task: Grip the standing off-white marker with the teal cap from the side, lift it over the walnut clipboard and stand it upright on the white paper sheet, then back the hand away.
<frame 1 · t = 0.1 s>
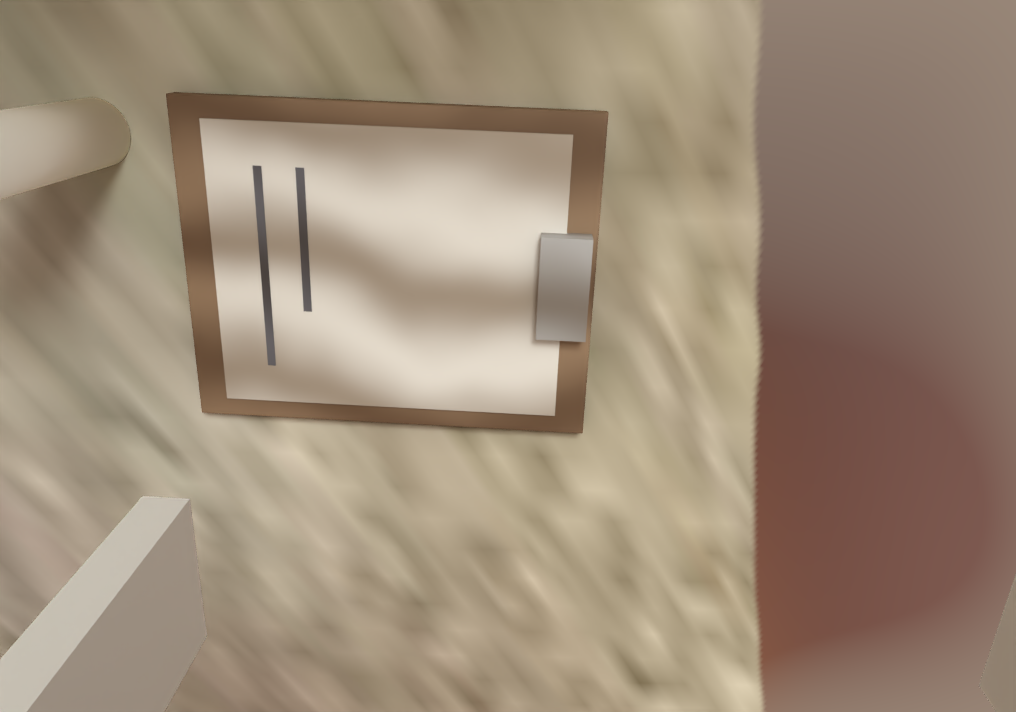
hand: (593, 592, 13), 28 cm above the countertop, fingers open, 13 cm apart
clipboard: (392, 269, 40), on the countertop
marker: (97, 132, 38), on the countertop
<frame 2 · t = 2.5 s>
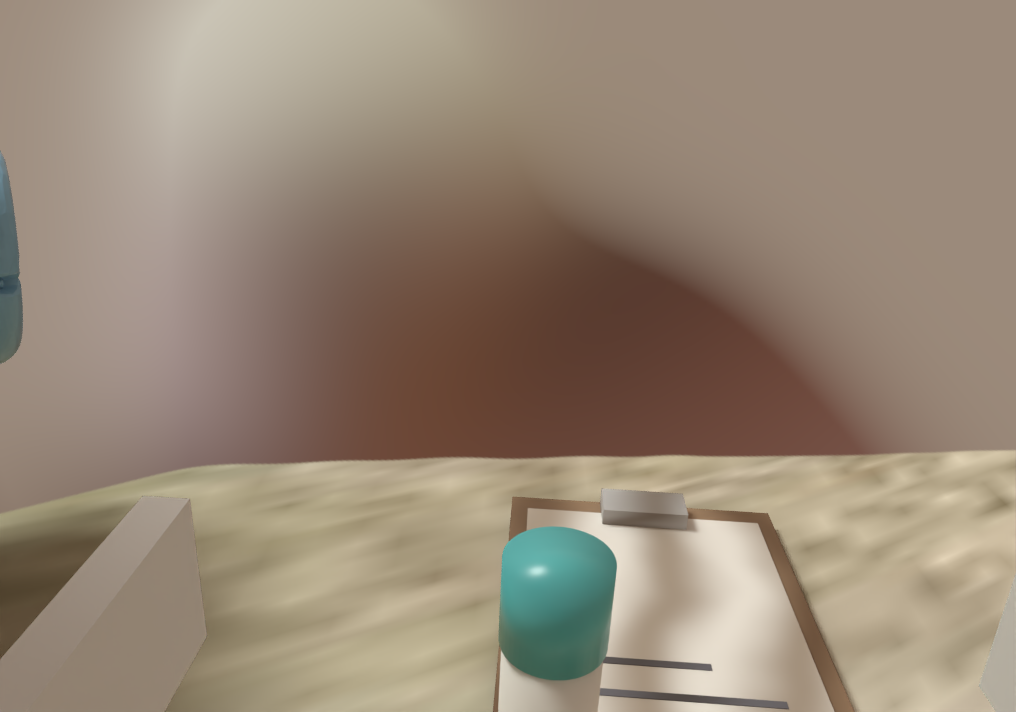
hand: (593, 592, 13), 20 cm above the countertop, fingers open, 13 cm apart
clipboard: (656, 626, 42), on the countertop
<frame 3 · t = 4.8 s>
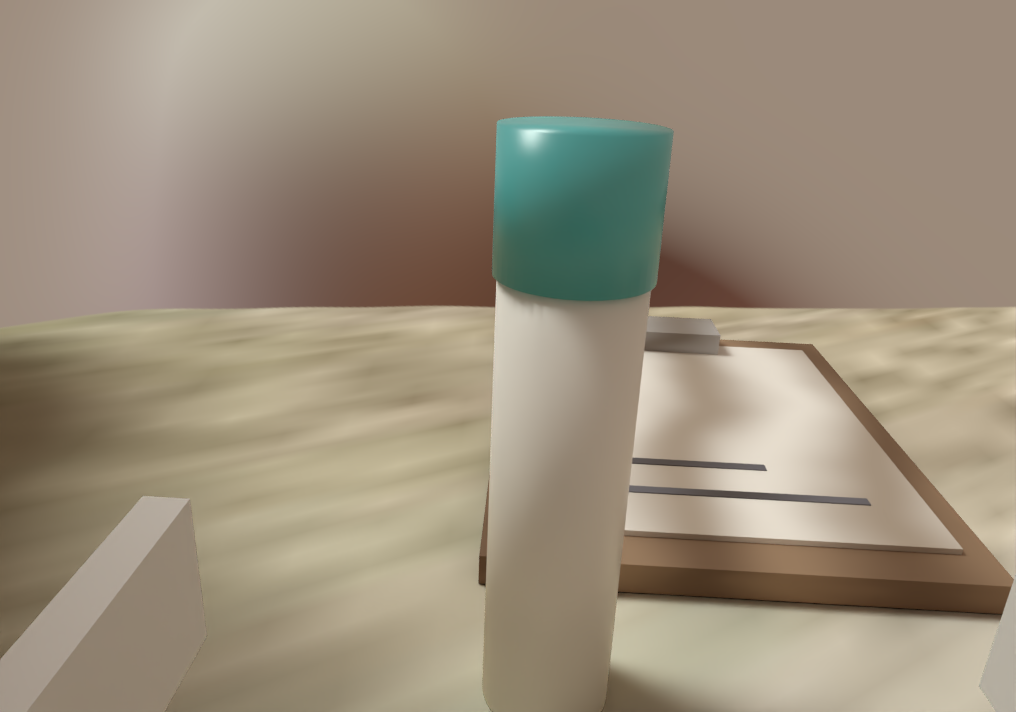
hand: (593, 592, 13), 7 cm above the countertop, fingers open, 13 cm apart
clipboard: (688, 442, 34), on the countertop
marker: (544, 686, 21), on the countertop
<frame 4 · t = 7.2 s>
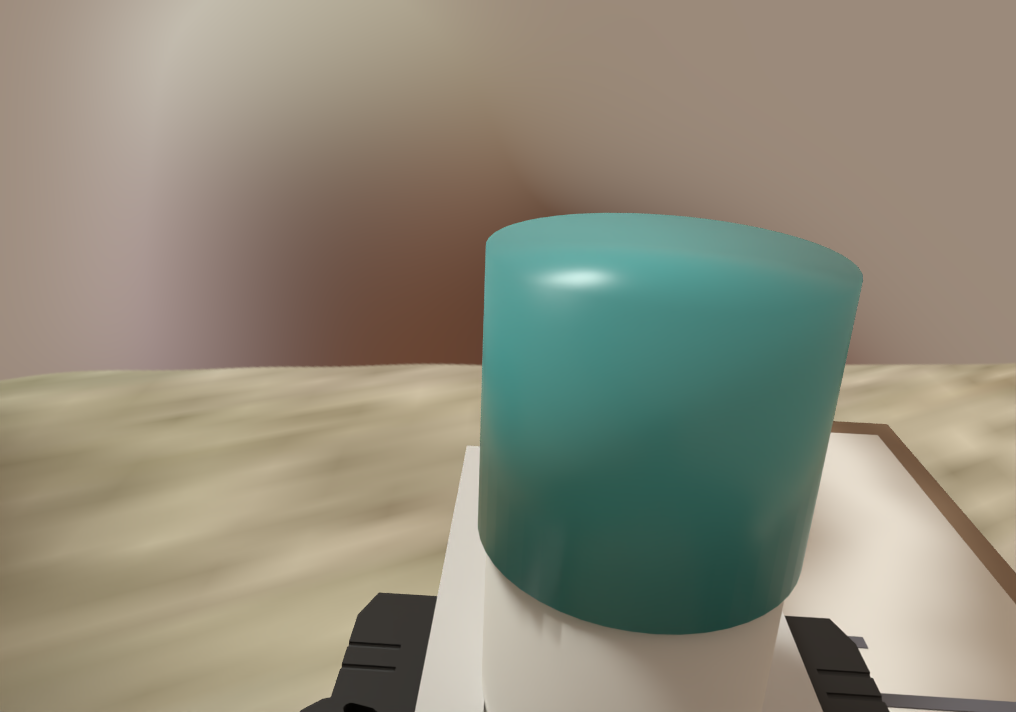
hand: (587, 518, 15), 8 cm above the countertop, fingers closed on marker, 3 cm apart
clipboard: (747, 580, 26), on the countertop
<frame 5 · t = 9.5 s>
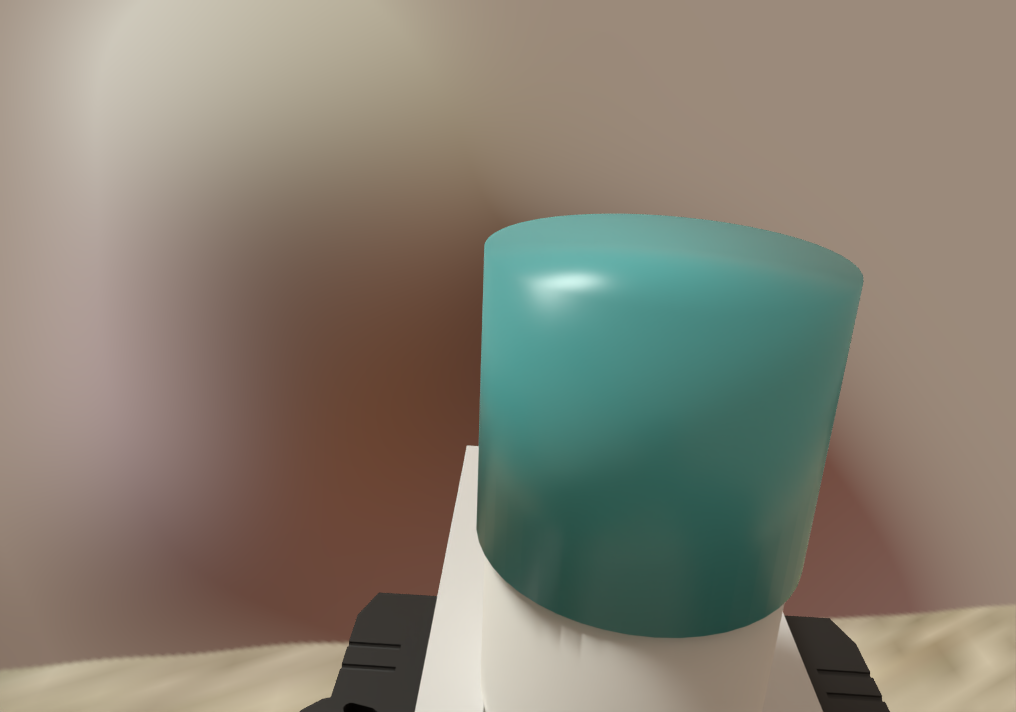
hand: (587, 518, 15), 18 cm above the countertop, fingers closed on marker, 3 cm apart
when the fingers open (10 cm above the countertop, at t = 12.1 s): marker drops 1 cm, resting on clipboard.
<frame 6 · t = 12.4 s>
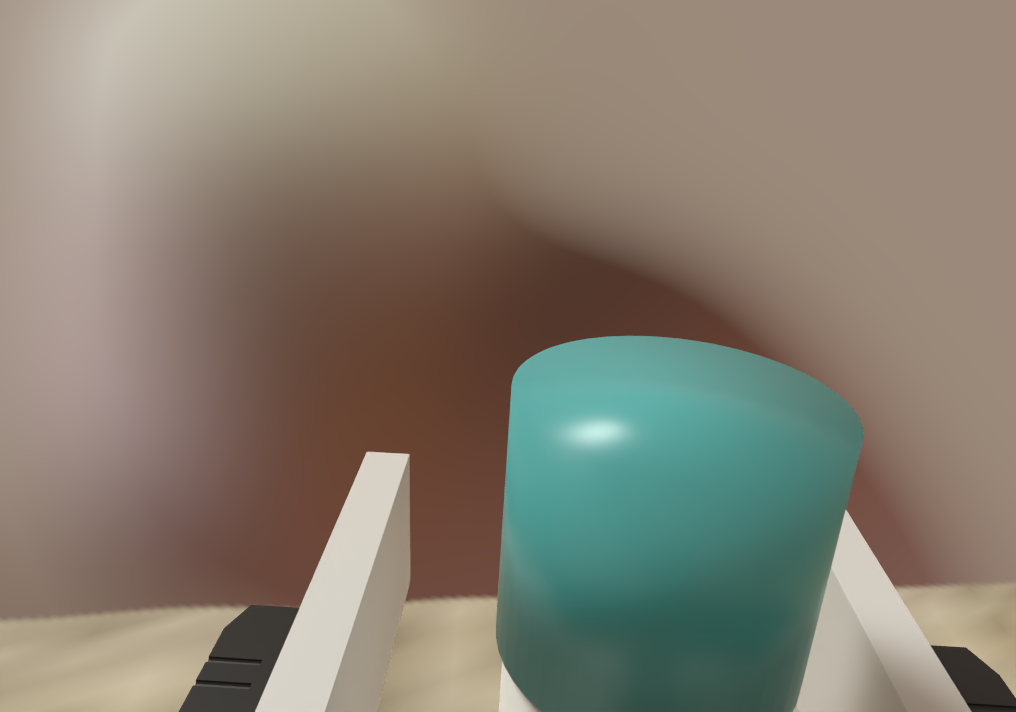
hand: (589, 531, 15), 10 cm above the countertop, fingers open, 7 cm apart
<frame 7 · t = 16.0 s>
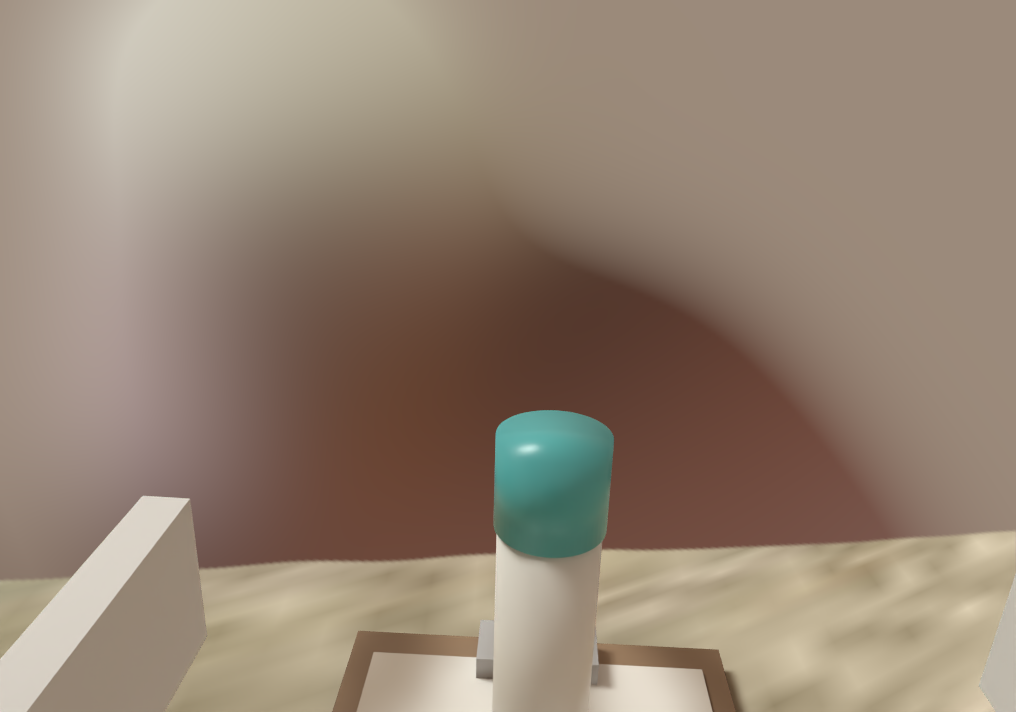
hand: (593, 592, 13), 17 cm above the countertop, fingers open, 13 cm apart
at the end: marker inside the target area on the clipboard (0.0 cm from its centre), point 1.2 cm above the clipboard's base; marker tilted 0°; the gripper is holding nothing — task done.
